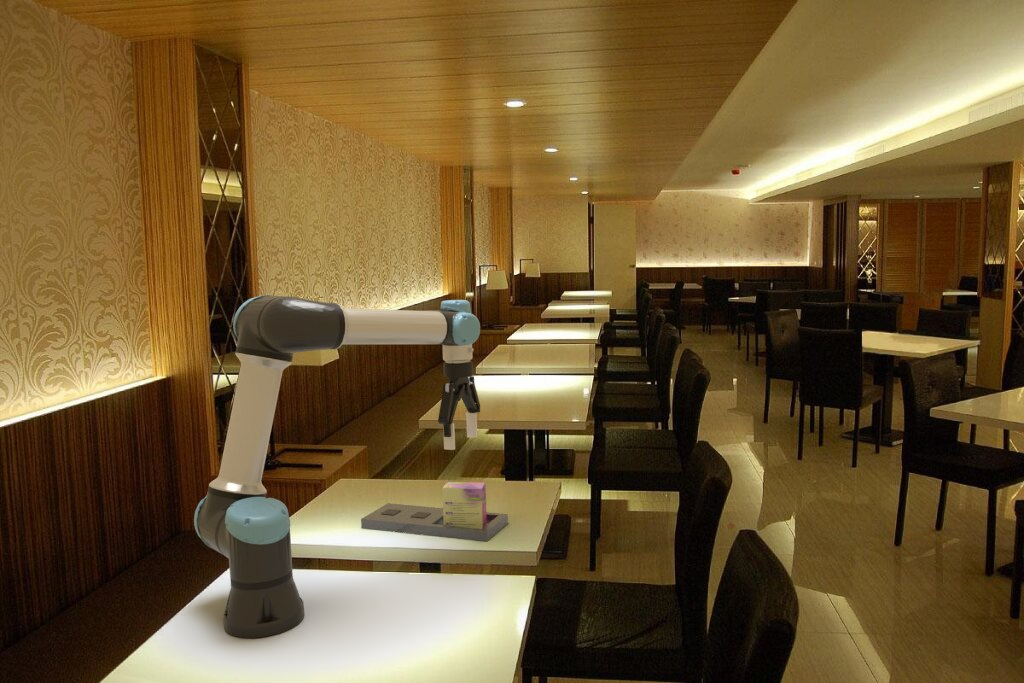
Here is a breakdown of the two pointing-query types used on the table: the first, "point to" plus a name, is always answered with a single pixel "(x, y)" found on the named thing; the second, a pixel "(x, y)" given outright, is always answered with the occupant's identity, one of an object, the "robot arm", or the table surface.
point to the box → (464, 504)
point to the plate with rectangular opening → (429, 522)
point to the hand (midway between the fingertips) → (461, 443)
